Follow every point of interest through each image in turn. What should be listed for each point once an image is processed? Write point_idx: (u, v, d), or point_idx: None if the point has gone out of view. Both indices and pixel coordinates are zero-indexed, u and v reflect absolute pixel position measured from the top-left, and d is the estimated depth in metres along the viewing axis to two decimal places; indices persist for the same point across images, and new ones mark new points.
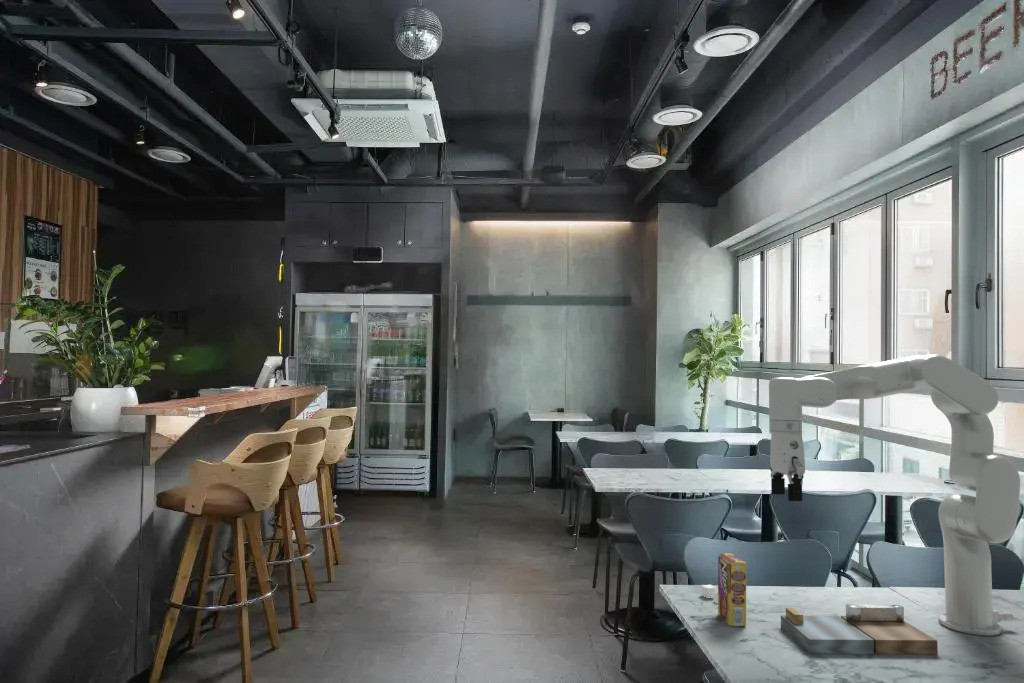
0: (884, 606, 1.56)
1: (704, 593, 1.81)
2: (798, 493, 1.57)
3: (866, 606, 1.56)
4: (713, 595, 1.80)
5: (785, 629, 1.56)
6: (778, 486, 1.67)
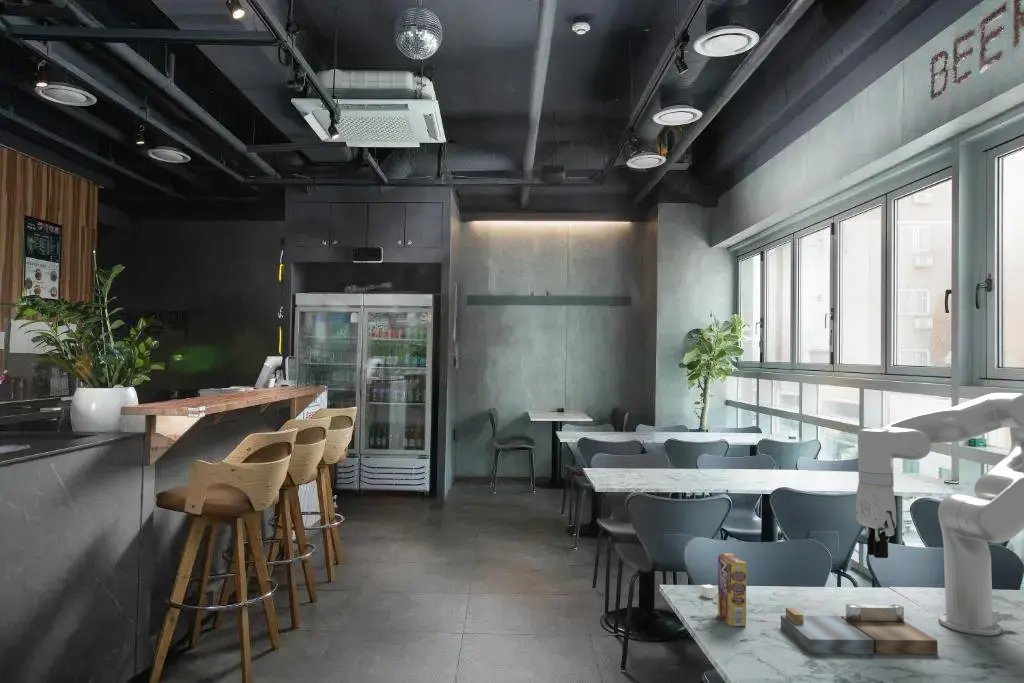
0: (884, 606, 1.56)
1: (704, 593, 1.81)
2: None
3: (866, 606, 1.56)
4: (713, 595, 1.80)
5: (785, 629, 1.56)
6: None
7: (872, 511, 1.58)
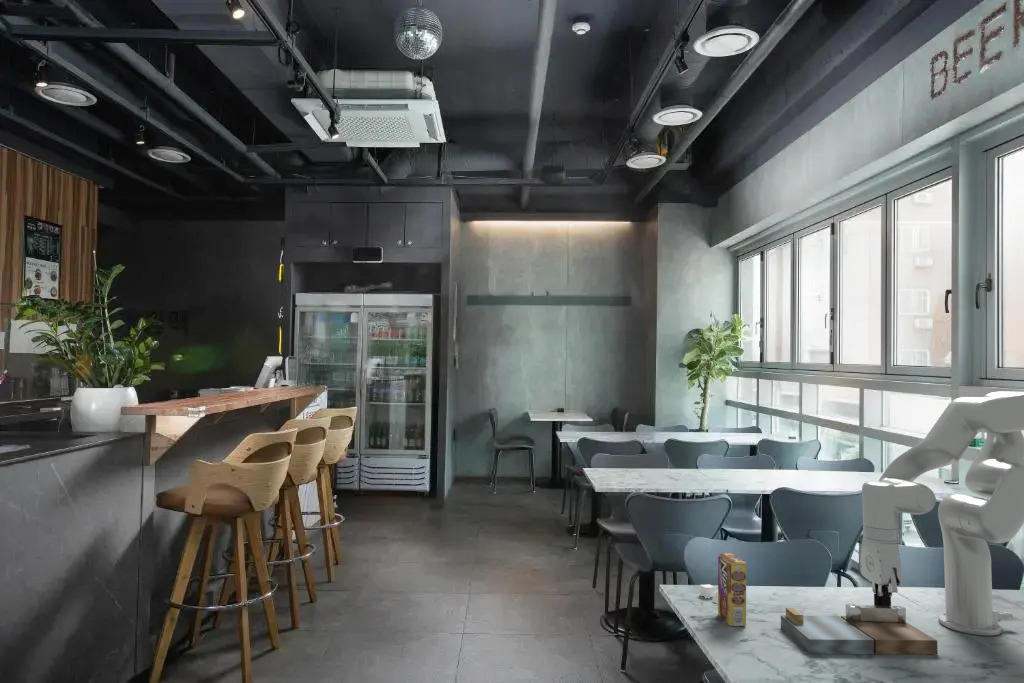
0: (885, 607, 1.55)
1: (703, 593, 1.81)
2: None
3: (866, 606, 1.55)
4: (712, 595, 1.80)
5: (785, 629, 1.56)
6: None
7: (876, 567, 1.56)
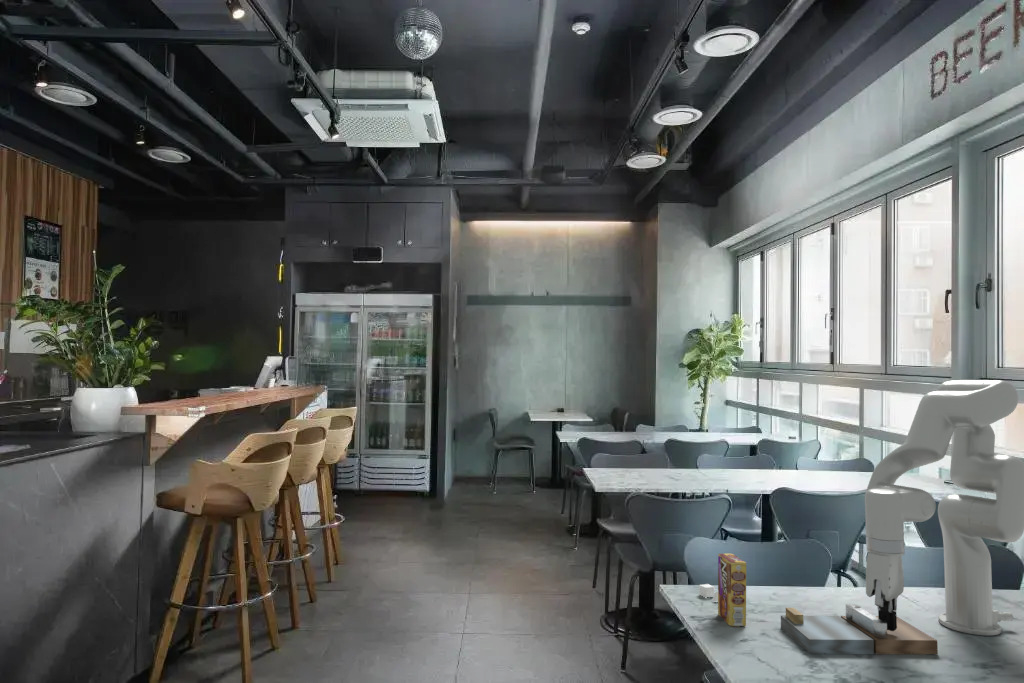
0: (871, 617, 1.49)
1: (702, 593, 1.81)
2: None
3: (859, 610, 1.53)
4: (711, 594, 1.81)
5: (785, 629, 1.56)
6: None
7: None
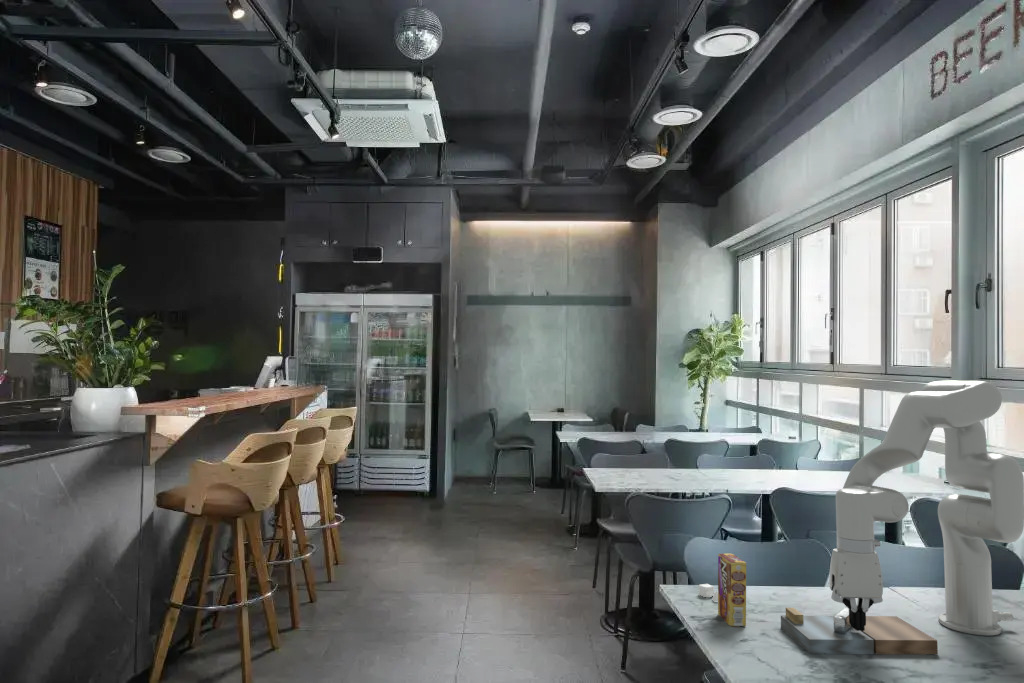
0: (843, 613, 1.50)
1: (702, 592, 1.81)
2: None
3: (848, 608, 1.54)
4: (711, 594, 1.81)
5: (785, 629, 1.56)
6: None
7: None
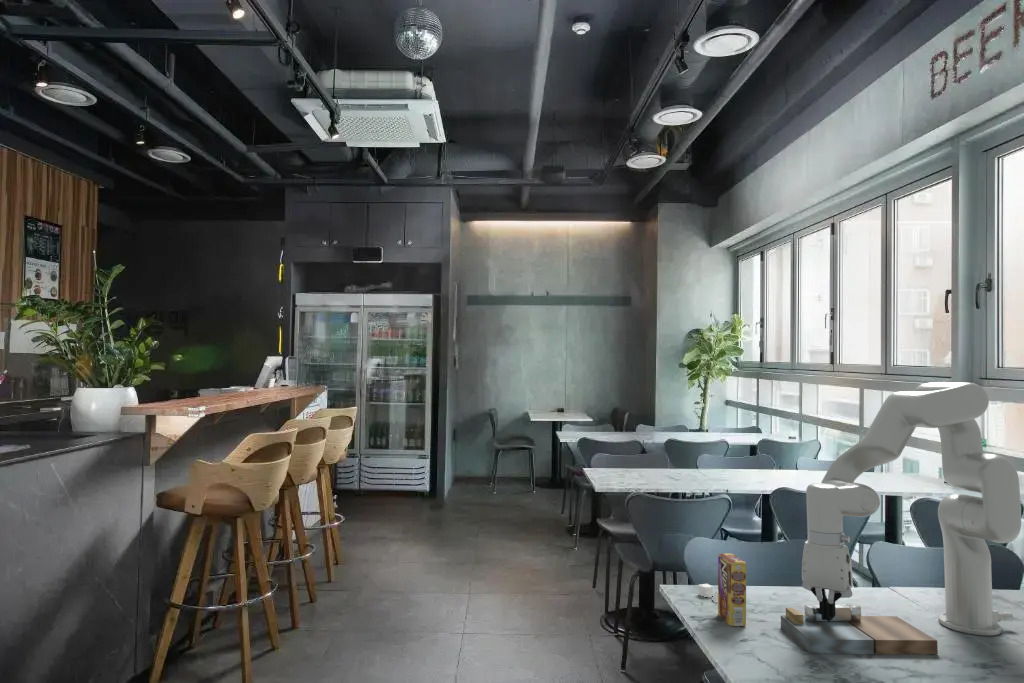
0: None
1: (702, 592, 1.82)
2: (834, 611, 1.52)
3: (840, 605, 1.56)
4: (711, 594, 1.81)
5: (785, 629, 1.56)
6: None
7: None
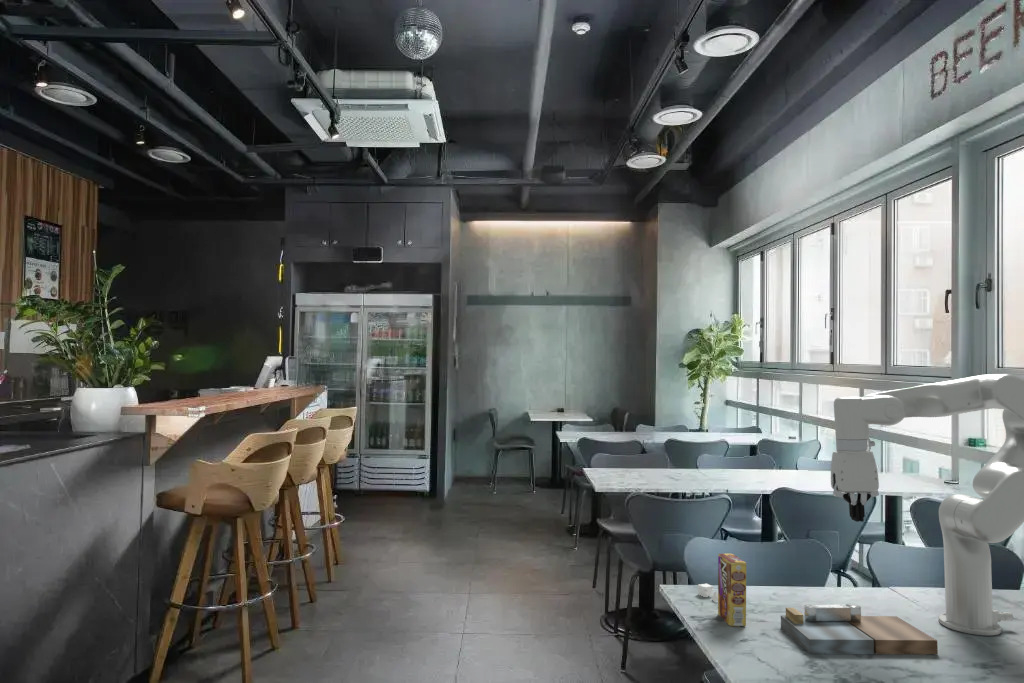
0: (822, 606, 1.55)
1: (701, 592, 1.82)
2: None
3: (840, 605, 1.56)
4: (710, 594, 1.81)
5: (785, 629, 1.56)
6: None
7: None
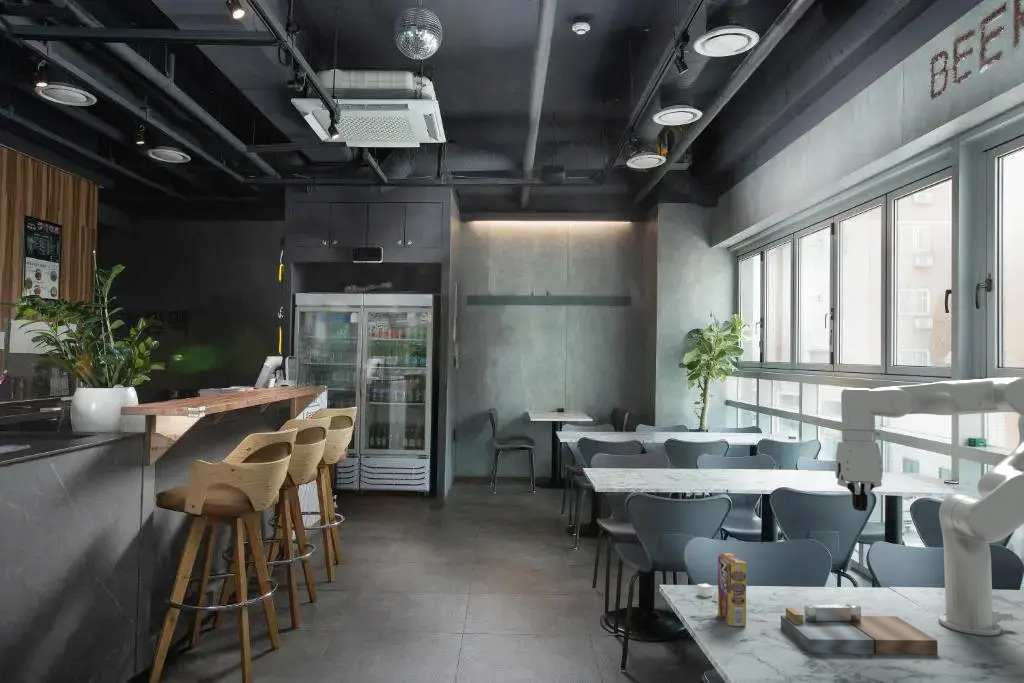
0: (822, 606, 1.55)
1: (701, 592, 1.82)
2: None
3: (840, 605, 1.56)
4: (710, 594, 1.81)
5: (785, 629, 1.56)
6: None
7: None
